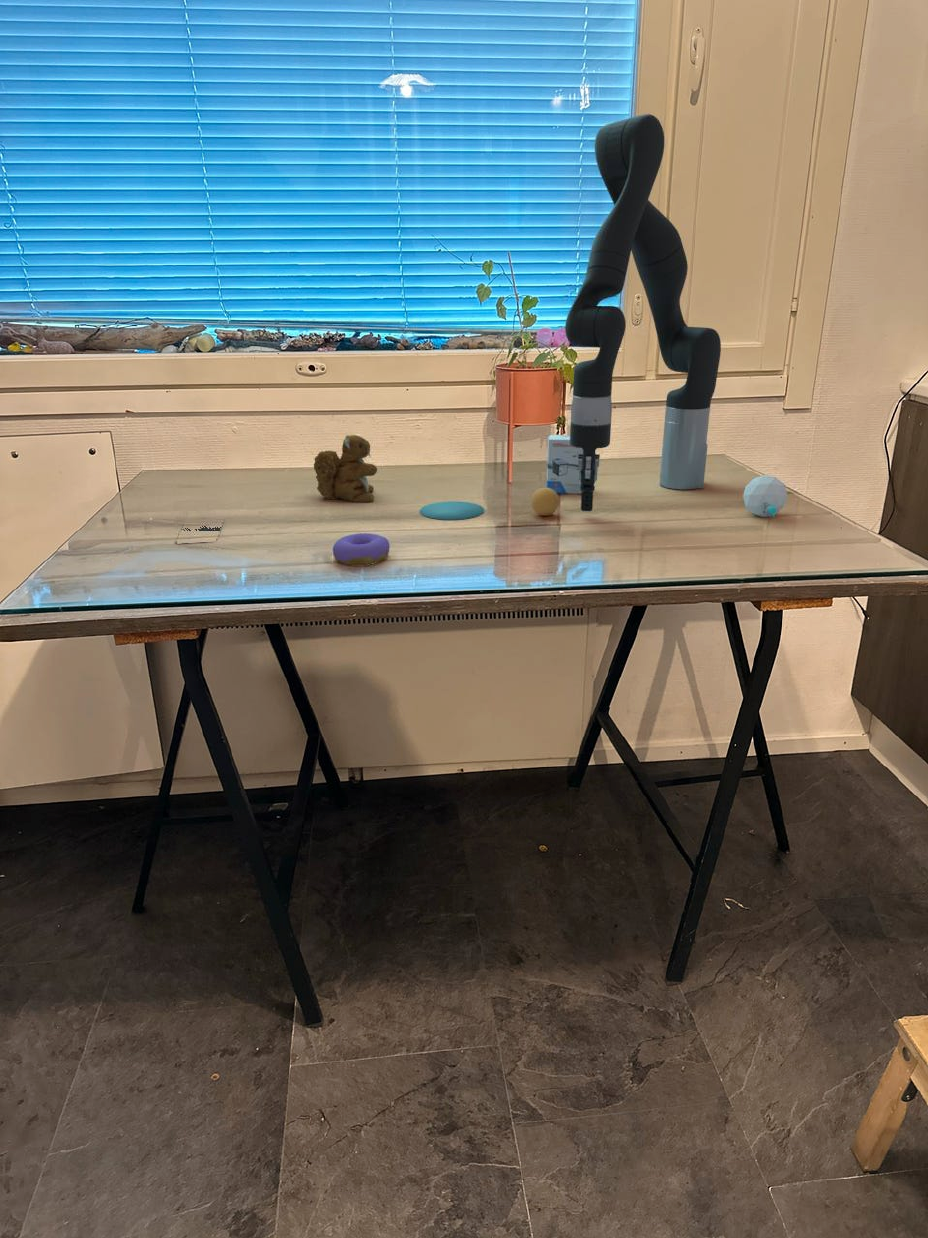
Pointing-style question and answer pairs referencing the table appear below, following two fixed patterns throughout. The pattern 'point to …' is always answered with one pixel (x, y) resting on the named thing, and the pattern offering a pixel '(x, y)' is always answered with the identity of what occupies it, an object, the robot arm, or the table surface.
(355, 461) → the stuffed squirrel
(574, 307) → the robot arm
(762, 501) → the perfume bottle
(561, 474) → the ink box
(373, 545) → the donut
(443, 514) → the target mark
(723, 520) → the table surface
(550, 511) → the ball
